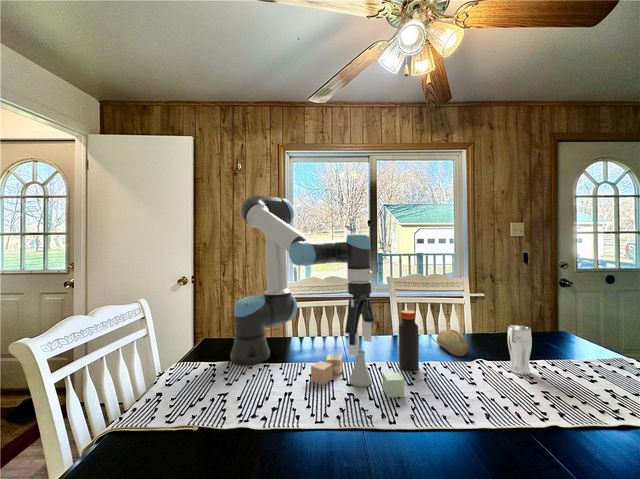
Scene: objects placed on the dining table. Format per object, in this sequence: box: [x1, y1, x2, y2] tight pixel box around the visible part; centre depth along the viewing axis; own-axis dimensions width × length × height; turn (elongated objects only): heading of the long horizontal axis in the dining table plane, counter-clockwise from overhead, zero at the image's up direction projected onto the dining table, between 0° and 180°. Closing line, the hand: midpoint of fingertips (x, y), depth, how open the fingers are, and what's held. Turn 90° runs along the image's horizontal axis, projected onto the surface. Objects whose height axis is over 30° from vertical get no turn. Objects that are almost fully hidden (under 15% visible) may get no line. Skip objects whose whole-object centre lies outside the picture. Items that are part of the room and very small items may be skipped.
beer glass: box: [507, 324, 533, 376], centre depth 104 cm, size 7×7×15 cm
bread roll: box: [436, 329, 469, 357], centre depth 123 cm, size 10×15×8 cm, turn 12°
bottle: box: [398, 309, 420, 372], centre depth 108 cm, size 7×7×20 cm
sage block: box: [382, 371, 405, 398], centre depth 90 cm, size 5×5×5 cm
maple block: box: [325, 353, 343, 376], centre depth 106 cm, size 5×5×5 cm
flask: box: [349, 349, 373, 388], centre depth 97 cm, size 7×7×10 cm
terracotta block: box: [310, 360, 333, 386], centre depth 99 cm, size 5×5×5 cm
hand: (361, 347), depth 97 cm, fingers open, 13 cm apart
